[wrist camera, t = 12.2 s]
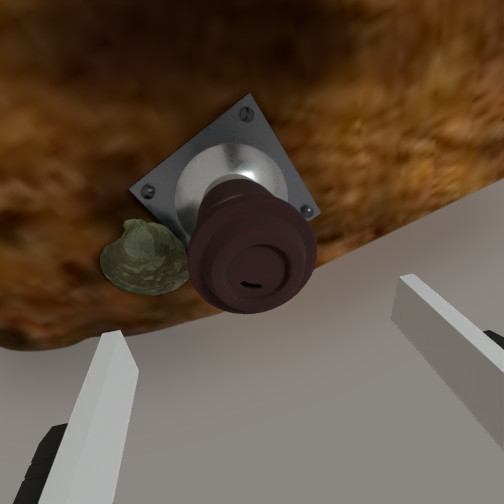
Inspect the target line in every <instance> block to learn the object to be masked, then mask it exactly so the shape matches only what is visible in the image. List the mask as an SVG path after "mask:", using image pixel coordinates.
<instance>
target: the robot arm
mask: <svg viewBox="0 0 504 504" xmlns="http://www.w3.org/2000/svg"><path fill="white" fill-rule="evenodd" d="M391 319H392V321H393V322H394V323H395V325H396V326H397V327H398V328H399V329H400V330H401V332H402V333H403V334H404V335H405V336H406V337H407V339H409V341H410V342H411V343H412V344H413V345H414V347H415V348H416V349H417V350H418V351H419V353H420V354H421V355H422V356H423V357H424V359H425V360H426V361H427V362H428V363H429V364H430V365H431V367H433V369H434V370H435V371H436V372H437V373H438V375H439V376H440V377H441V378H442V379H443V381H444V382H445V383H446V384H447V385H448V386H449V388H450V389H451V390H452V391H453V392H454V394H455V395H456V396H457V397H458V398H459V399H460V401H461V402H462V403H463V404H464V405H465V406H466V408H467V409H468V410H469V411H470V412H471V413H472V415H473V416H474V417H475V418H476V419H477V420H478V422H479V423H480V424H481V425H482V426H483V428H484V429H485V430H486V431H487V432H488V433H489V435H490V436H491V437H492V438H493V439H494V440H495V442H496V443H497V444H498V445H499V446H500V447H501V449H502V450H503V451H504V337H502V336H500V335H498V334H496V333H494V332H492V331H490V330H487V331H483V332H482V331H481V330H479V329H478V328H477V327H476V326H475V325H474V324H473V323H471V322H470V321H469V320H468V319H467V318H465V317H464V316H463V315H462V314H461V313H459V312H458V311H457V310H456V309H455V308H453V307H452V306H451V305H450V304H449V303H448V302H446V301H445V300H444V299H443V298H441V297H440V296H439V295H438V294H437V293H436V292H434V291H433V290H432V289H431V288H429V286H427V285H426V284H425V283H424V282H422V281H421V280H420V279H419V278H418V277H417V276H415V275H414V274H410V275H405V276H399V278H398V284H397V289H396V294H395V299H394V305H393V310H392V316H391ZM138 373H139V370H138V368H137V366H136V364H135V361H134V359H133V357H132V355H131V353H130V350H129V348H128V346H127V344H126V341H125V339H124V337H123V335H122V333H121V330H118V331H113V332H108V333H103V334H102V336H101V338H100V341H99V344H98V346H97V349H96V352H95V354H94V357H93V360H92V362H91V365H90V368H89V370H88V373H87V375H86V378H85V381H84V383H83V386H82V389H81V391H80V394H79V397H78V399H77V402H76V405H75V407H74V410H73V413H72V415H71V418H70V420H69V423H66V424H62V425H57V426H53V427H52V428H51V429H50V430H49V432H48V433H47V434H46V436H45V437H44V438H43V440H42V441H41V442H40V443H39V445H38V448H37V450H36V452H35V455H34V457H33V459H32V461H31V463H32V464H31V465H30V466H29V468H28V470H27V473H26V475H25V480H24V481H23V482H22V484H21V487H20V489H19V491H18V493H17V496H16V498H15V500H14V503H13V504H113V499H114V494H115V489H116V484H117V479H118V474H119V469H120V464H121V459H122V453H123V449H124V444H125V439H126V434H127V429H128V424H129V419H130V414H131V409H132V403H133V398H134V393H135V388H136V383H137V378H138Z"/></svg>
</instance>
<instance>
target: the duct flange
mask: <svg viewBox="0 0 504 504" xmlns="http://www.w3.org/2000/svg"><path fill="white" fill-rule="evenodd" d="M228 174H241V175H245V176H247V177H249V178H251V179H253V180H254V181H255V182H257V183H259V184H261V185H262V186H264V187H265V188H266V189H267V190H268V191H269V192H271V193H272V194H273V195H274V196H275V197H277V198H280V199H282V200H284V201H286V202H288V203H290V204H291V205H292V206H294V207H295V208H296V209H297V210H298V211H299V212H300V213H301V214H302V215H303V216H304V218H305V219H306V220H307V221H308V222H309V221H310V220H311V219H313V218H314V217H316V216H317V215H319V214H320V213H321V212H320V210H319V208H318V206H317V205H316V203H315V201H314V200H313V198H312V196H311V195H310V193H309V191H308V190H307V188H306V186H305V185H304V183H303V181H302V179H301V178H300V176H299V174H298V173H297V171H296V169H295V168H294V166H293V164H292V163H291V161H290V159H289V158H288V156H287V154H286V152H285V151H284V149H283V147H282V146H281V144H280V142H279V141H278V139H277V137H276V136H275V134H274V132H273V131H272V129H271V127H270V125H269V124H268V122H267V120H266V119H265V117H264V115H263V114H262V112H261V110H260V109H259V107H258V105H257V104H256V102H255V100H254V99H253V97H252V95H251V93H248V94H246V95H245V96H244V97H243V98H241V99H240V100H239V101H238V102H236V103H235V104H234V105H233V106H231V107H230V108H229V109H228V110H226V111H225V112H224V113H222V114H221V115H220V116H219V117H217V118H216V119H215V120H214V121H212V122H211V123H210V124H209V125H207V126H206V127H205V128H204V129H202V130H201V131H200V132H199V133H197V134H196V135H195V136H194V137H192V138H191V139H190V140H188V141H187V142H186V143H185V144H183V145H182V146H181V147H180V148H178V149H177V150H176V151H175V152H173V153H172V154H171V155H170V156H168V157H167V158H166V159H165V160H163V161H162V162H161V163H160V164H158V165H157V166H156V167H154V168H153V169H152V170H151V171H149V172H148V173H147V174H146V175H144V176H143V177H142V178H141V179H139V180H138V181H137V182H136V183H134V184H133V185H132V186H131V187H130V188H129V190H130V191H131V192H132V193H133V194H134V195H135V196H136V197H137V198H138V199H139V200H140V201H141V202H142V203H143V204H144V205H145V206H146V208H147V209H148V210H149V211H150V212H151V213H152V214H153V215H154V216H155V217H156V218H157V219H158V220H159V221H160V222H161V223H162V224H163V225H164V226H165V227H167V228H168V229H169V230H170V231H171V232H172V233H173V234H174V235H175V237H176V238H178V239H179V240H180V241H181V242H182V243H183V245H184V246H185V248H186V249H187V250H188V246H189V241H190V238H191V235H192V233H193V231H194V229H195V227H196V223H197V216H198V210H199V207H200V204H201V202H202V197H203V195H204V192H205V190H206V189H207V187H208V186H209V185H210V184H211V183H212V182H213V181H214V180H216V179H217V178H219V177H221V176H224V175H228Z"/></svg>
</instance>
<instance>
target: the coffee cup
mask: <svg viewBox="0 0 504 504" xmlns="http://www.w3.org/2000/svg"><path fill="white" fill-rule="evenodd" d="M316 259H317V243H316V238H315V235H314V232H313V230H312V228H311V226H310V224H309V223H308V221H307V220H306V219H305V218H304V216H303V215H302V214H301V213H300V212H299V211H298V210H297V209H296V208H295V207H294V206H292V205H291V204H290V203H288V202H286V201H284V200H282V199H280V198H277V197H275V196H274V195H273V194H272V193H271V192H269V191H268V190H267V189H266V188H265V187H264V186H262V185H261V184H259V183H257V182H255V181H254V180H253V179H251V178H249V177H247V176H245V175H241V174H228V175H224V176H221V177H219V178H217V179H216V180H214V181H213V182H212V183H211V184H210V185H209V186H208V187H207V189H206V190H205V192H204V195H203V197H202V202H201V204H200V207H199V210H198V216H197V223H196V227H195V229H194V231H193V233H192V235H191V238H190V241H189V246H188V258H187V265H188V272H189V276H190V280H191V282H192V284H193V286H194V287H195V289H196V290H197V292H198V293H199V294H200V295H201V297H202V298H203V299H205V300H206V301H207V302H208V303H210V304H211V305H213V306H215V307H217V308H219V309H221V310H224V311H227V312H231V313H239V314H255V313H261V312H265V311H268V310H271V309H274V308H276V307H278V306H280V305H282V304H284V303H285V302H287V301H289V300H290V299H291V298H293V297H294V296H295V295H296V294H297V293H298V292H299V291H300V290H301V289H302V288H303V287H304V285H305V284H306V283H307V281H308V280H309V278H310V276H311V274H312V272H313V270H314V267H315V263H316Z"/></svg>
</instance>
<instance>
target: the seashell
mask: <svg viewBox="0 0 504 504" xmlns="http://www.w3.org/2000/svg"><path fill="white" fill-rule="evenodd" d="M123 226H124V228H125V232H124V233H123V235H122V237H121V238H120V239H118V240H117V241H116V242H114V243H112V244H110V245H107V246H105V247H104V250H103V252H102V254H101V257H100V264H101V268H102V270H103V273H104V274H105V276H106V277H107V278H108V279H109V280H110V281H111V282H112V283H113V284H114V285H116V286H117V287H118V288H119V289H120V290H122V291H125V292H129V293H135V294H142V295H152V296H155V295H159V294H164V293H168V292H169V291H173V290H176V289H178V288H179V287H180V286H181V285H183V284H184V283H185V282H186V281H187V280H188V279H189V272H188V265H187V258H188V257H187V254H186V250H185V247H184V245H183V243H182V242H181V241H180V240H179V239H178V238H176V237H175V235H174V234H173V233H172V232H171V231H170V230H169V229H168V228H167V227H165V226H164V225H161V224H156V223H154V222H149V223H147V222H145V221H144V220H142V219H138V220H137V219H131V220H126V221H125V222H124V224H123Z"/></svg>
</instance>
